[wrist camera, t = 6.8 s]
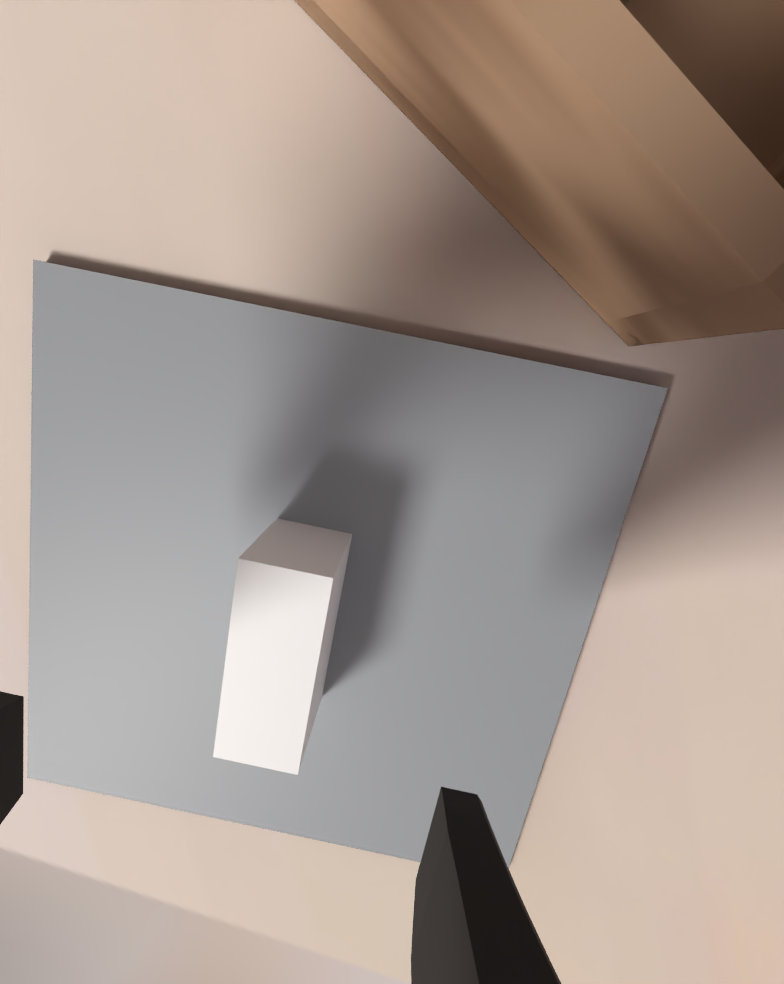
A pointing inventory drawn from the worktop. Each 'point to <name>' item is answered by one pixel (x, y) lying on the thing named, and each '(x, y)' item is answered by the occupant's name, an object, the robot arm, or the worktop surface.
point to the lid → (308, 559)
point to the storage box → (606, 140)
